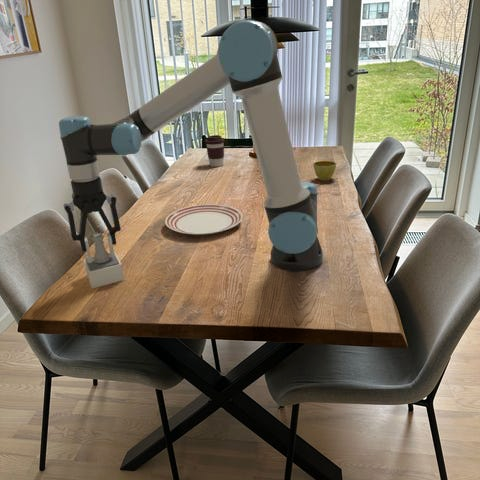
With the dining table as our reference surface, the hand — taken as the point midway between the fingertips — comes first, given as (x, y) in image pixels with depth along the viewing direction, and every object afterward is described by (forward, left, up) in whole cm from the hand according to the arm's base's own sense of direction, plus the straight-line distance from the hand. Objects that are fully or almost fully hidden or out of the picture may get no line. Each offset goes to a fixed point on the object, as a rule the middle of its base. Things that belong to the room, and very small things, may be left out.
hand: (101, 257), depth 129 cm
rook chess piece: (0, 0, -1) cm, 1 cm away
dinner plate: (+22, -39, -7) cm, 45 cm away
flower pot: (+43, -105, -7) cm, 114 cm away
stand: (0, 0, -6) cm, 6 cm away
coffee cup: (+97, -75, -7) cm, 123 cm away
